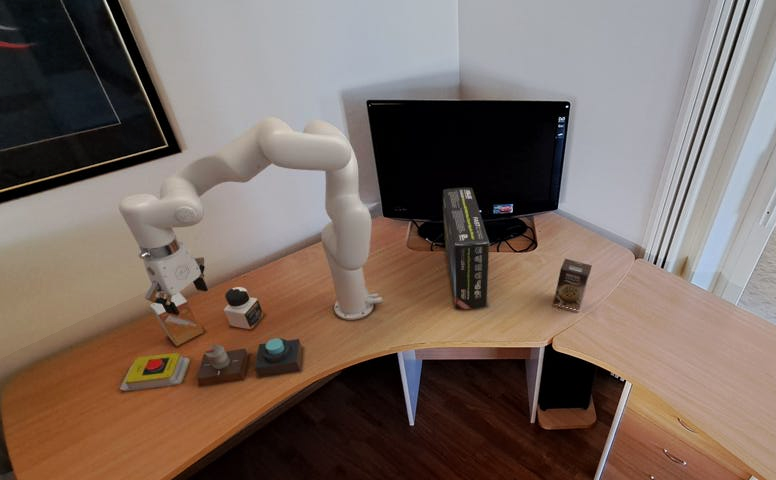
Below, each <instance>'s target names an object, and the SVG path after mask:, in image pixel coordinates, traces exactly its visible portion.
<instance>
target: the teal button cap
mask: <svg viewBox="0 0 776 480" xmlns="http://www.w3.org/2000/svg"><path fill="white" fill-rule="evenodd" d="M281 339H282V338H272V339H270V340H268V341H267V342H266V343H267V344H266V349H267V351H268V353H269V354H271V355H276V354H279V353H281V352H282V351H283V350H284V345H283V342H282V340H281Z"/></svg>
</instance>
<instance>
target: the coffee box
mask: <svg viewBox="0 0 776 480" xmlns="http://www.w3.org/2000/svg"><path fill="white" fill-rule="evenodd" d="M592 267H593V266H592V265H591V264H587V263H584V262H580V261H576V260H572V259H568V258H565V259H563V263H562V265H561V266H560V271H559V276H558V279H557V280H558V281H557V284H556V289H555V294H554V300H553V304H552V305H553V307H557V308H561V309H564V310H567V311H571V312H574V313H580V310H581V308H582V305H583V301H584V297H585V293H586V289H587V286H588V282H589V278H590V275H591V271H592ZM556 304H557V305H556ZM559 305H560V306H559ZM563 306H564V307H563ZM566 307H568V308H566ZM570 308H572V309H570ZM573 309H576V310H573ZM579 309H580V310H579ZM577 310H579V311H577Z"/></svg>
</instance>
